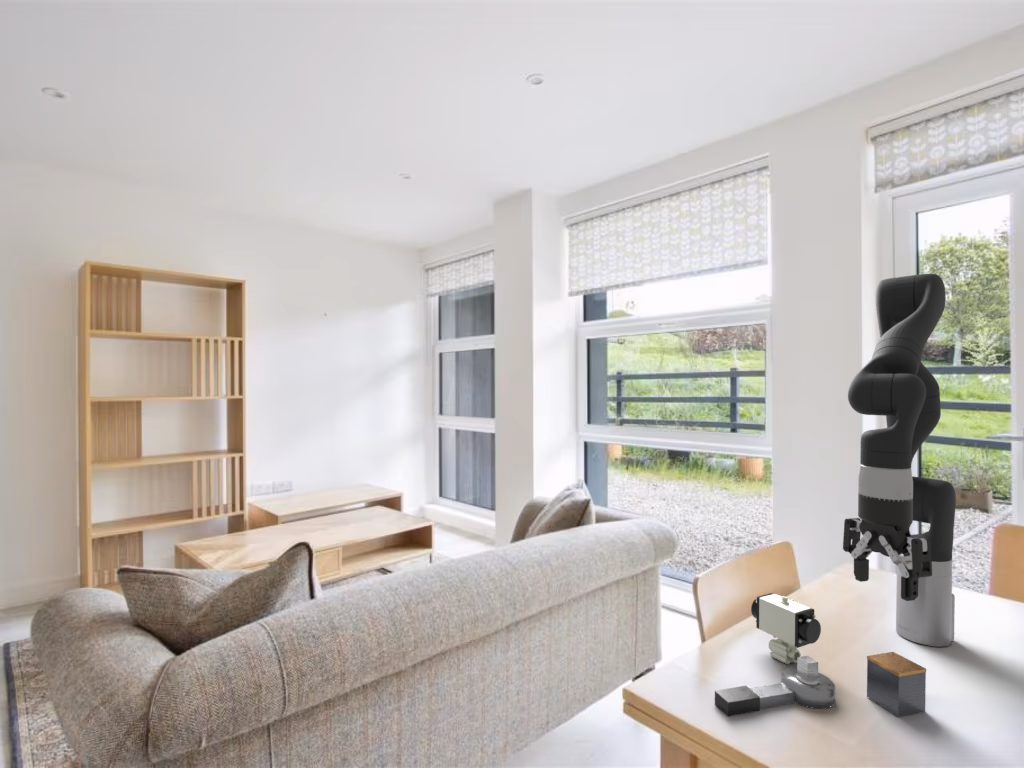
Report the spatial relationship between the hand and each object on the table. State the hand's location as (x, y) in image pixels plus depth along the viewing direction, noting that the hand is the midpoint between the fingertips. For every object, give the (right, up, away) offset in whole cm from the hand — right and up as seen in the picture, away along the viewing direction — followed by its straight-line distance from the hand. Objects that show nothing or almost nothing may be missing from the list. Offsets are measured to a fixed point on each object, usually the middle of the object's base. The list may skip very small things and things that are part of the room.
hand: (884, 589), depth 91 cm
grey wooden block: (+1, -19, -1) cm, 19 cm away
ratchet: (-18, -18, 0) cm, 26 cm away
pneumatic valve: (-10, -19, +14) cm, 25 cm away
